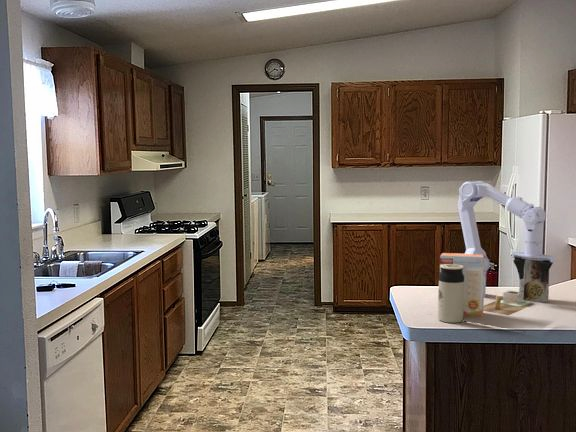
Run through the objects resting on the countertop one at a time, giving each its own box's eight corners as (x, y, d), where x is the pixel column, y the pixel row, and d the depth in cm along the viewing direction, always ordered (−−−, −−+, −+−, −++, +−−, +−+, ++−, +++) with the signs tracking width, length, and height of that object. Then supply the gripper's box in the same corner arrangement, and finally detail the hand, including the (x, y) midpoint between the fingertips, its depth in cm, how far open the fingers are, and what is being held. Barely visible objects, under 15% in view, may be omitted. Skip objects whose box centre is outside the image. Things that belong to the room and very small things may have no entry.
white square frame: (503, 302, 221) (503, 292, 221) (509, 299, 225) (509, 290, 225) (517, 304, 218) (517, 294, 217) (523, 302, 221) (523, 292, 221)
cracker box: (483, 315, 208) (485, 254, 206) (482, 319, 203) (483, 256, 201) (441, 311, 213) (442, 251, 211) (438, 316, 208) (439, 254, 206)
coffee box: (543, 298, 233) (544, 256, 231) (548, 302, 226) (550, 259, 225) (518, 298, 233) (519, 256, 232) (522, 302, 227) (524, 258, 226)
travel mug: (462, 317, 205) (463, 264, 203) (463, 324, 197) (465, 268, 196) (437, 316, 207) (438, 263, 205) (438, 322, 199) (439, 267, 197)
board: (474, 312, 213) (475, 296, 212) (502, 300, 229) (503, 286, 229) (508, 318, 205) (509, 301, 204) (535, 306, 221) (535, 291, 220)
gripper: (508, 241, 218) (507, 279, 219) (550, 245, 208) (548, 284, 210) (516, 239, 223) (515, 276, 225) (558, 242, 213) (556, 281, 215)
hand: (532, 280), depth 217 cm, fingers open, 7 cm apart
